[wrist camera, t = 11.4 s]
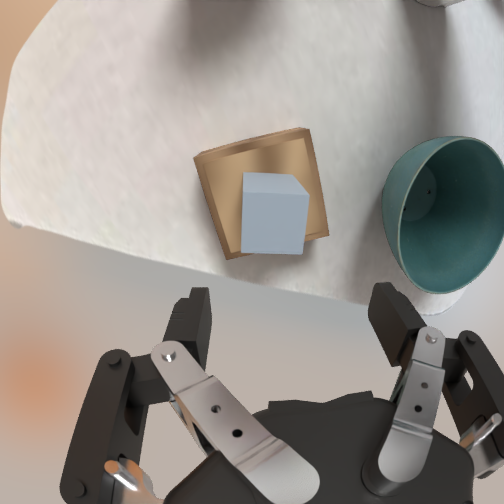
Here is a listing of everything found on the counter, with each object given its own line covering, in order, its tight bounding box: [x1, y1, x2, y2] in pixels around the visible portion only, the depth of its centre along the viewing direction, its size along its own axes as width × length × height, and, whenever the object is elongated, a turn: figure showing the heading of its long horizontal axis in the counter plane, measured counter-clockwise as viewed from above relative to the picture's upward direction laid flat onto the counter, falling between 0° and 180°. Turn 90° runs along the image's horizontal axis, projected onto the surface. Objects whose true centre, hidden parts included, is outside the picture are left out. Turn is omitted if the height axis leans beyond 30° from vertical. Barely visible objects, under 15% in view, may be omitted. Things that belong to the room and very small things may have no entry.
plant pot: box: [382, 136, 504, 294], centre depth 29 cm, size 18×18×12 cm
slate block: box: [241, 172, 310, 254], centre depth 25 cm, size 5×5×8 cm
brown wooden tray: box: [193, 127, 329, 260], centre depth 32 cm, size 12×12×6 cm
